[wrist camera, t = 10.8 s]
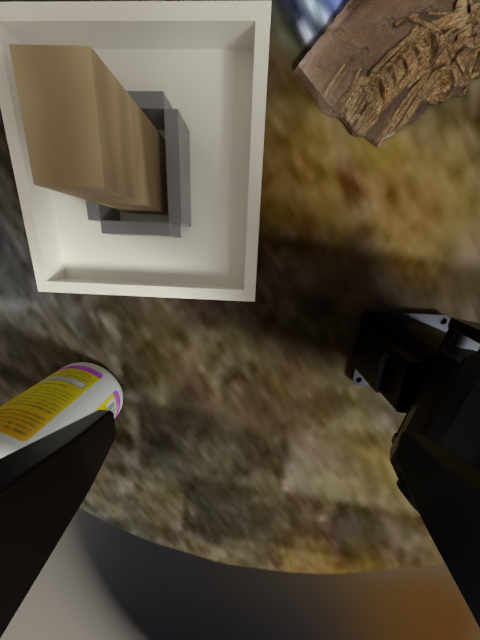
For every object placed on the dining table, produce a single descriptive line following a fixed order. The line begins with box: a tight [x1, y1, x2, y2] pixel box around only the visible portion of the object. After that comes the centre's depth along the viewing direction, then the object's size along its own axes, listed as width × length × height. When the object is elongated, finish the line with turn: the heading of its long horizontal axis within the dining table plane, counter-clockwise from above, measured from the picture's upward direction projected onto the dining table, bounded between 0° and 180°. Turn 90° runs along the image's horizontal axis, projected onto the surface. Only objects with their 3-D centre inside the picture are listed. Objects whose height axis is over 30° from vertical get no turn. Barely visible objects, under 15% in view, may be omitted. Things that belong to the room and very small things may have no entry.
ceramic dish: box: [0, 1, 272, 302], centre depth 16 cm, size 16×16×3 cm
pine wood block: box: [9, 44, 169, 215], centre depth 13 cm, size 3×4×8 cm, turn 177°
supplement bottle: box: [0, 362, 123, 459], centre depth 17 cm, size 7×7×13 cm
